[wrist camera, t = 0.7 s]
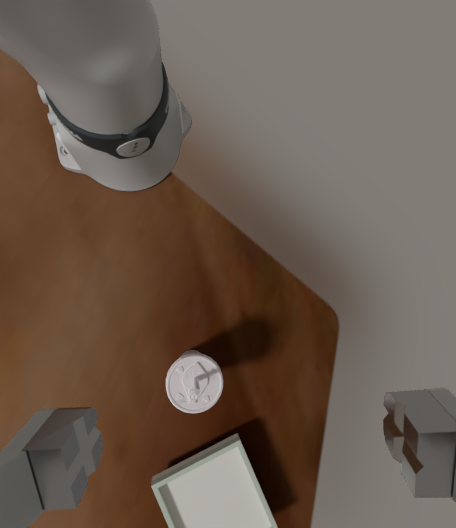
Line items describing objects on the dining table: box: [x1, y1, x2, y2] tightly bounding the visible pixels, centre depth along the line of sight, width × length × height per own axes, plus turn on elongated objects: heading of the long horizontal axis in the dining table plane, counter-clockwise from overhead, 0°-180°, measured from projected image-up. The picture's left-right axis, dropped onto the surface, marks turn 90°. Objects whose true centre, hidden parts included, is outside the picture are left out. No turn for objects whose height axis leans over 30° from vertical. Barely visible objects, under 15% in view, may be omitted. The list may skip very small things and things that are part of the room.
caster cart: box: [151, 433, 278, 528], centre depth 43 cm, size 13×12×4 cm
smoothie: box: [166, 350, 223, 413], centre depth 39 cm, size 6×6×14 cm
